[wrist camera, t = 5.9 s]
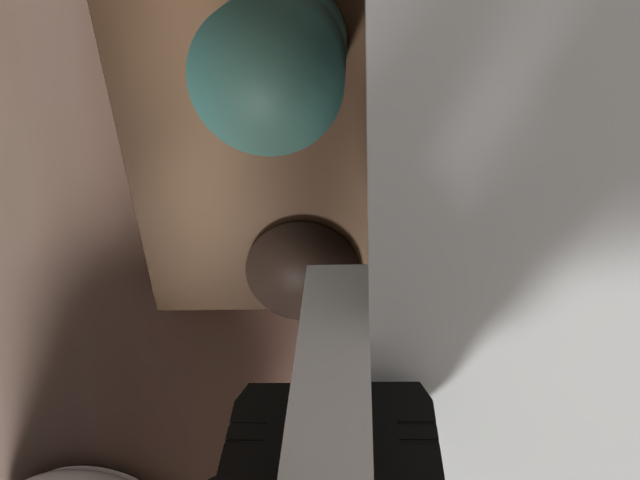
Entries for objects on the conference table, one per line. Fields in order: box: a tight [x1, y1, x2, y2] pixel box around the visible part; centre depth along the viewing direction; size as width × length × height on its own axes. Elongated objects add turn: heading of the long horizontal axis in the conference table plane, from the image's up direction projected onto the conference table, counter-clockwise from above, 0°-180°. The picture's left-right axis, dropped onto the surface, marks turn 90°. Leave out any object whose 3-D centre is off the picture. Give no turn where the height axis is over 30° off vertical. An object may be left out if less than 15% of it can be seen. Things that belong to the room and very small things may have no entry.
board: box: [87, 0, 368, 320], centre depth 16 cm, size 10×10×5 cm
